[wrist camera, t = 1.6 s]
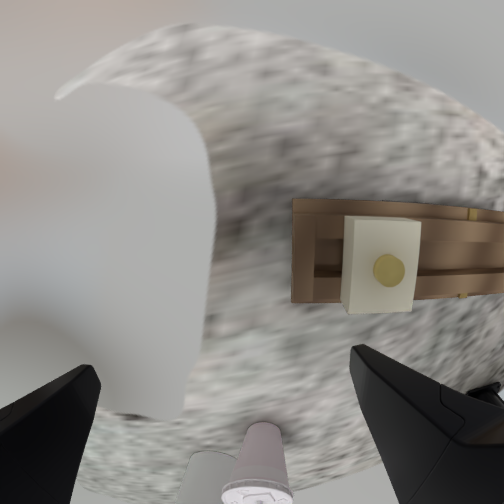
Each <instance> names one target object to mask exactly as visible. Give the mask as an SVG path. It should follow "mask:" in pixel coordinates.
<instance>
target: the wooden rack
mask: <svg viewBox="0 0 504 504" xmlns="http://www.w3.org/2000/svg"><path fill="white" fill-rule="evenodd" d="M344 216H371V217H397V218H407V219H411V220H415V221H419V222H421V236H420V249H419V259H418V268H417V277H416V284H415V291H414V298H413V300H424V299H439V298H453V297H458V298H467V296H476V295H487V294H496V293H504V212H501V211H493V210H484V209H475V208H466V207H456V206H446V205H438V204H429V203H415V202H400V201H383V200H382V201H367V200H340V199H292V279H291V303H342V302H341V300H340V294H341V281H342V265H343V246H344Z"/></svg>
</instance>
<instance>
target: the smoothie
mask: <svg viewBox="0 0 504 504" xmlns="http://www.w3.org/2000/svg"><path fill="white" fill-rule="evenodd" d="M293 496H294V494H293V491H292V490H291V489H290V487H289V482H288V476H287V469H286V463H285V456H284V450H283V444H282V437H281V431H280V429H279V428H278V427H277V426H276V425H274V424H272V423H267V422H259V423H255V424H253V425H251V426H250V427H249V428H248V430H247V433H246V436H245V439H244V441H243V444H242V447H241V450H240V453H239V456H238V458H237V461H236V464H235V466H234V469H233V472H232V474H231V477H230V480H229V483H228V484H226V485H225V486H224V487H223V489H222V496H221V499H222V501H223V503H224V504H293Z"/></svg>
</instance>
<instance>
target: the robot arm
mask: <svg viewBox="0 0 504 504" xmlns="http://www.w3.org/2000/svg"><path fill="white" fill-rule="evenodd" d="M349 367H350V374H351V377H352V380H353V384H354V387H355V391H356V394H357V398H358V401H359V405H360V408H361V411H362V413H363V416H364V418H365V420H366V423H367V425H368V427H369V430H370V432H371V434H372V437H373V439H374V442H375V444H376V446H377V449H378V451H379V454H380V456H381V459H382V461H383V463H384V466H385V468H386V471H387V473H388V476H389V478H390V481H391V484H392V486H393V489H394V491H395V494H396V496H397V499H398V501H399V504H504V401H503V400H502V399H501V398H500V396H499V395H498V394H497V393H498V391H499V389H500V386H501V383H500V382H497V383H494V384H491V385H488V386H485V387H482V388H478V389H475V390H472V391H469V392H468V393H467V394H466V395H465V394H462V393H460V392H458V391H456V390H453V389H451V388H449V387H447V386H445V385H443V384H441V385H440V383H439V382H437V381H435V380H433V379H431V378H429V377H427V376H425V375H423V374H421V373H419V372H417V371H415V370H413V369H411V368H409V367H407V366H405V365H403V364H401V363H399V362H397V361H395V360H393V359H391V358H389V357H388V356H386V355H384V354H382V353H380V352H378V351H376V350H374V349H372V348H370V347H368V346H366V345H364V344H360V345H356V346H352V348H351V352H350V365H349ZM100 390H101V383H100V380H99V378H98V376H97V374H96V372H95V370H94V368H93V367H92V365H86V364H83V365H80V366H78V367H76V368H74V369H73V370H71V371H69V372H67V373H66V374H64V375H62V376H60V377H59V378H57V379H55V380H53V381H51V382H49V383H47V384H46V385H44V386H42V387H40V388H38V389H37V390H35V391H33V392H32V393H29V394H28V395H26V396H24V397H22V398H20V399H18V400H17V401H15V402H13V403H11V404H9V405H7V406H5V407H3V408H1V409H0V504H70V501H71V496H72V492H73V488H74V484H75V480H76V477H77V473H78V469H79V466H80V462H81V459H82V455H83V452H84V449H85V445H86V442H87V439H88V436H89V433H90V430H91V427H92V423H93V420H94V416H95V411H96V407H97V402H98V398H99V394H100Z"/></svg>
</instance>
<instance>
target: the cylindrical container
mask: <svg viewBox="0 0 504 504" xmlns="http://www.w3.org/2000/svg"><path fill="white" fill-rule="evenodd" d="M236 461H237V459H235V458H234V457H232V456H230V455H227V454H224V453H220V452H215V451H201V452H197V453H195V454H193V455H192V456H191V457H190V460H189V463H188V466H187V469H186V472H185V474H184V477H183V480H182V483H181V486H180V489H179V492H178V494H177V497H176V500H175V503H174V504H224V503H223V501H222V499H221V496H222V489H223V487H224V486H225V485H226V484H228V483H229V480H230V477H231V474H232V472H233V469H234V466H235V464H236Z"/></svg>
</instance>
